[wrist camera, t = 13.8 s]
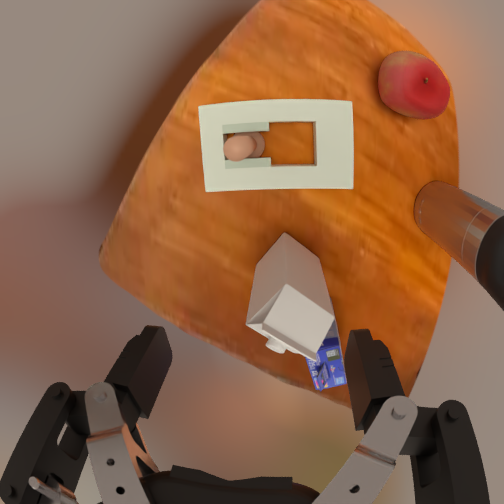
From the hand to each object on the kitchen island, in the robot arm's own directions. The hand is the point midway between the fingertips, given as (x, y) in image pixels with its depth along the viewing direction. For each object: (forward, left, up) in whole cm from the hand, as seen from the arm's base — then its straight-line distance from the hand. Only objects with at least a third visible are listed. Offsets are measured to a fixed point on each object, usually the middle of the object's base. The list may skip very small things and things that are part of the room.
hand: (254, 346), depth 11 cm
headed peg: (+3, -7, -30) cm, 31 cm away
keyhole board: (-1, -7, -30) cm, 31 cm away
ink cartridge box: (-8, +23, -30) cm, 39 cm away
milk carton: (-2, +11, -30) cm, 32 cm away
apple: (-19, -16, -30) cm, 39 cm away
